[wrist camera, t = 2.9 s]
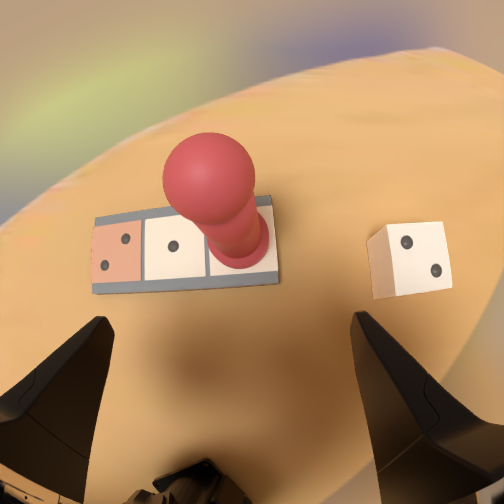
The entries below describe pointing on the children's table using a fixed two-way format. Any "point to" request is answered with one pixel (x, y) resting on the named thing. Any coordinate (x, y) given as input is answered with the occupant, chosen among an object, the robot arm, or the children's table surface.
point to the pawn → (218, 197)
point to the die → (409, 259)
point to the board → (169, 254)
